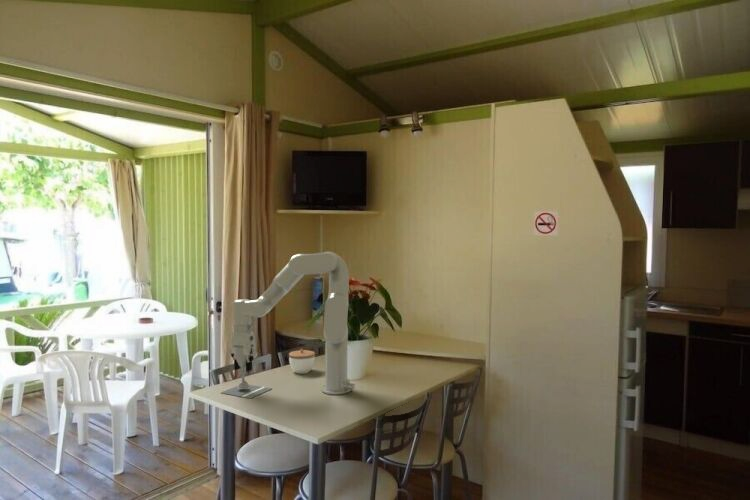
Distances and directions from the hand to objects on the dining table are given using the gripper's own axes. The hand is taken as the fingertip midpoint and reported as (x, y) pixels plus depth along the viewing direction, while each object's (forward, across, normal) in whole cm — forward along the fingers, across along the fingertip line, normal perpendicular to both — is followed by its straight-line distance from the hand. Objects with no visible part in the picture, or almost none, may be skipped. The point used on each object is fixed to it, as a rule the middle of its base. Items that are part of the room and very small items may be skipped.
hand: (243, 369), depth 216 cm
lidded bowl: (+10, -6, -36) cm, 38 cm away
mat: (+9, -2, 0) cm, 9 cm away
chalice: (+8, 0, 0) cm, 8 cm away
